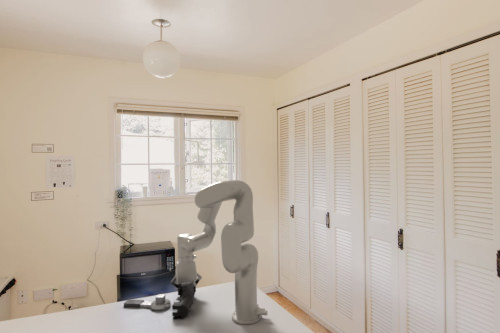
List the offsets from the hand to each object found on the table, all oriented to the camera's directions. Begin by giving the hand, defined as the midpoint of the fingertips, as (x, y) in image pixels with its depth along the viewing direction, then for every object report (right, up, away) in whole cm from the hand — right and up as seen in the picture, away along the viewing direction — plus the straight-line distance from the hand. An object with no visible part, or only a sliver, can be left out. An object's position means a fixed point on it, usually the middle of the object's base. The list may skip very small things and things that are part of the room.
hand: (187, 294), depth 149 cm
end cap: (+2, -2, -16) cm, 16 cm away
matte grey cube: (0, -1, 0) cm, 1 cm away
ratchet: (-17, -2, -7) cm, 19 cm away
